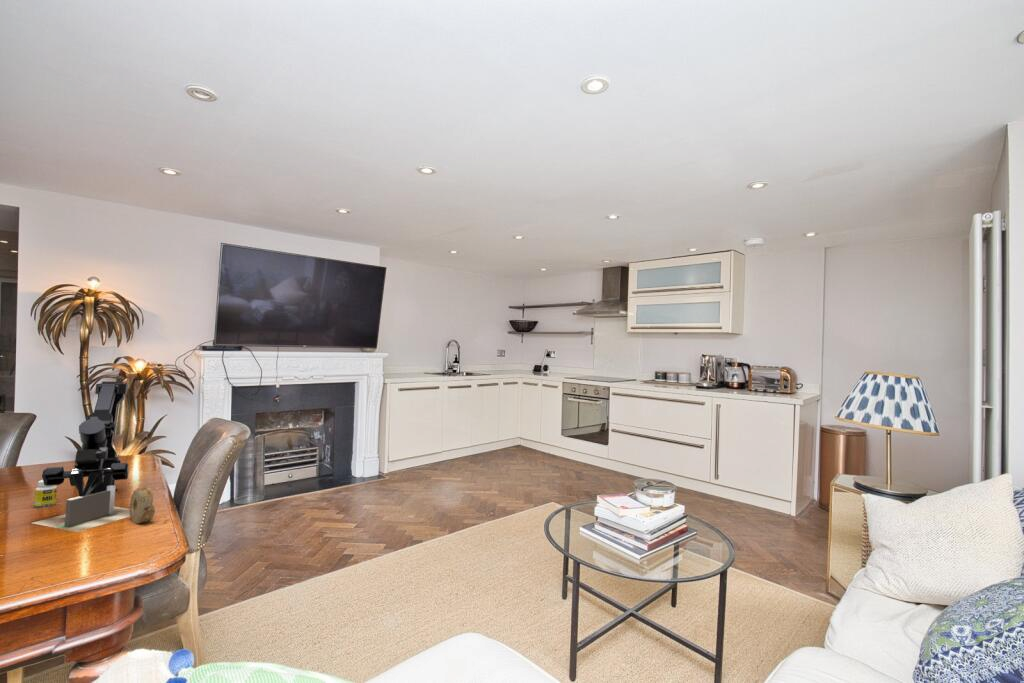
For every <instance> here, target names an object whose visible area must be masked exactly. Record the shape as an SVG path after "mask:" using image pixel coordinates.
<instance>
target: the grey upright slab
mask: <svg viewBox="0 0 1024 683" xmlns="http://www.w3.org/2000/svg"><path fill="white" fill-rule="evenodd" d="M116 486H117V485H116V484H114V485H109V486H107V490H106V491H102V492H98V493H93V494H88V495H85V496H81V497H80V496H79V495H78V496H75V497H71V498H68V499H67V498H66V503H65V504H66V506H65V513H64V514H65V525H64V526H66V527H70V526H73V525H77V524H80V523H83V522H87V521H90V520H94V519H97V518H100V517H104V516H107V515H111V514H113V511H114V507H115V499H116V498H115V497H116V491H115V489H117V487H116Z"/></svg>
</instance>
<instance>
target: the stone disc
mask: <svg viewBox="0 0 1024 683" xmlns="http://www.w3.org/2000/svg"><path fill="white" fill-rule="evenodd" d="M153 501H154V492H153V490H152V488H151V487H148V486H147V487H139V488H136V489H134V490H133V492H132V494H131V496H130V501H129V502H130V503H129V508H128V509H129V512H130V517H129V518H130V520H131V522H133V523H135V524H145V523H150V522H151V521H152V520H153V518H154V516H155V513H156V507H155V506H154V504H153Z"/></svg>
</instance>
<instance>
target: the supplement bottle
mask: <svg viewBox="0 0 1024 683" xmlns="http://www.w3.org/2000/svg"><path fill="white" fill-rule="evenodd" d="M57 486H58V485H52V486H46V485H44V482H43V479H41V480H39V481H38V482H37V487H36V488H35V490H34V491H35V492H34V502H33V508H34V509H46V508H51V507H53V506H55V505H56V500H57V490H58V487H57Z"/></svg>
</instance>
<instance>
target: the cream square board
mask: <svg viewBox="0 0 1024 683" xmlns="http://www.w3.org/2000/svg"><path fill="white" fill-rule="evenodd" d="M129 509H130V508H126V507H119V506H114V511H113V514H111V515H107V516H104V517H100V518H97V519H94V520H90V521H87V522H83V523H80V524H77V525H73V526H70V527H66V526H64V525H65V514H66V513H64V514H61V515H57V516H54V517H50V518H49V517H48V518H45V519H41V520H38V521H34V522H32V524H33V525H40V526H43V527H44V526H45V527H50V528H55V529H59V530H64V531H70V532H76V533H79V532H82V531H85V530H89V529H92V528H97V527H100V526H103V525H106V524H109V523H112V522H113V523H114V522H116V521H120V520H124V519H126V518H131V517H130V512H129Z"/></svg>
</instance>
